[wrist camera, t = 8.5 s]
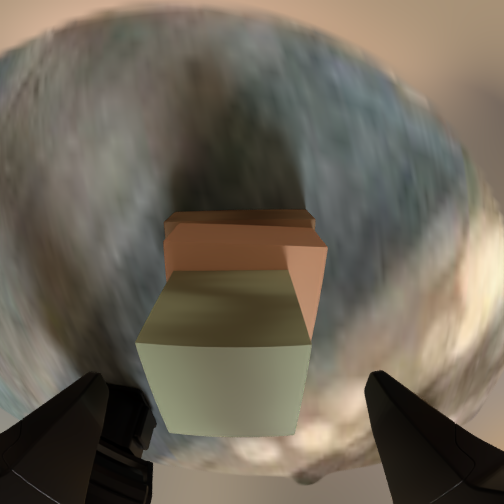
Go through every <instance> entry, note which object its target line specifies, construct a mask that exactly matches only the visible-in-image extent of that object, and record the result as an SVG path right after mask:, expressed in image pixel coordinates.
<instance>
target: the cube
mask: <svg viewBox="0 0 504 504" xmlns="http://www.w3.org/2000/svg"><path fill="white" fill-rule="evenodd" d="M135 344H136V347H137V351H138V354H139V357H140V360H141V363H142V366H143V369H144V371H145V374H146V377H147V380H148V383H149V385H150V388H151V391H152V393H153V396H154V398H155V401H156V403H157V406H158V408H159V410H160V413H161V415H162V417H163V420H164V422H165V424H166V427H167V429H168V431H169V433H176V434H186V435H197V436H213V437H273V436H289V435H294V434H295V430H296V426H297V421H298V417H299V412H300V407H301V402H302V397H303V392H304V387H305V382H306V376H307V371H308V365H309V359H310V353H311V347H312V344H311V340H310V337H309V334H308V330H307V327H306V324H305V321H304V318H303V314H302V311H301V308H300V305H299V302H298V299H297V295H296V292H295V289H294V286H293V283H292V280H291V277H290V274H289V271H288V270H230V271H173V272H172V274H171V276H170V278H169V280H168V281H167V283H166V285H165V287H164V289H163V290H162V292H161V294H160V296H159V298H158V300H157V301H156V303H155V305H154V307H153V309H152V311H151V313H150V314H149V316H148V318H147V320H146V322H145V324H144V326H143V328H142V330H141V332H140V334H139V336H138V338H137V340H136V342H135Z"/></svg>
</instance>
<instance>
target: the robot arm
mask: <svg viewBox="0 0 504 504" xmlns="http://www.w3.org/2000/svg"><path fill="white" fill-rule="evenodd" d="M364 394H365V399H366V403H367V408H368V413H369V418H370V423H371V428H372V432H373V436H374V439H375V442H376V445H377V448H378V452H379V455H380V458H381V461H382V464H383V468H384V472H385V475H386V479H387V482H388V486H389V489H390V493H391V497H392V501H393V504H504V451H502V450H500V449H498V448H496V447H494V446H492V445H490V444H488V443H487V442H485V441H483V440H481V439H479V438H477V437H476V436H474V435H473V434H471V433H469V432H468V431H466V430H465V429H463V428H462V427H461V426H459V425H458V424H455V422H453V421H452V420H451V419H449V418H448V417H446V416H445V415H444V414H442V413H441V412H439V411H438V410H437V409H435V408H434V407H432V406H431V405H430V404H428V403H427V402H425V401H424V400H423V399H421V398H420V397H419V396H417V395H416V394H414V393H413V392H412V391H410V390H409V389H408V388H406V387H405V386H403V385H402V384H401V383H399V382H398V381H397V380H395V379H394V378H393V377H391V376H390V375H389V374H387V373H386V372H384V371H382V370H379V371H374V372H371V373H370V375H369V378H368V380H367V383H366V386H365V389H364ZM156 425H157V423H156V420H155V418H154V416H153V414H152V411H151V409H150V407H149V406H148V404H147V402H146V400H145V398H144V395H143V393H142V392H141V391H140V390H139V389H134V388H127V387H121V386H115V385H109V384H106V383H105V381H104V379H103V377H102V375H101V374H100V373H97V372H88V373H87V374H85V375H84V376H82V377H81V378H80V379H78V380H77V381H75V382H74V383H73V384H71V385H70V386H68V387H67V388H66V389H64V390H63V391H61V392H60V393H59V394H57V395H56V396H54V397H53V398H51V399H50V400H49V401H47V402H46V403H44V404H43V405H42V406H40V407H39V408H37V409H36V410H35V411H33V412H32V413H30V414H29V415H27V416H26V417H25V418H23V419H22V420H20V421H19V422H18V423H16V424H15V425H13V426H12V427H10V428H9V429H7V430H6V431H4V432H2V433H0V504H150V503H151V499H152V478H153V476H152V475H153V463H152V462H150V461H145V460H143V459H141V457H142V453H143V450H147V449H148V448H149V444H150V440H151V437H152V433H153V429H154V428H155V427H156Z"/></svg>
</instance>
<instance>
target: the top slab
mask: <svg viewBox="0 0 504 504" xmlns="http://www.w3.org/2000/svg"><path fill="white" fill-rule="evenodd" d="M163 242H164V257H165V269H166V280H167V281H168V280H169V278H170V276H171V274H172V272H173V271H230V270H288V271H289V274H290V277H291V280H292V283H293V286H294V289H295V292H296V295H297V299H298V302H299V305H300V308H301V311H302V314H303V318H304V321H305V324H306V327H307V330H308V334H309V337H310V340H311V339H312V334H313V329H314V324H315V319H316V314H317V309H318V304H319V298H320V292H321V287H322V281H323V275H324V269H325V262H326V256H327V249H328V247H327V246H326V245H325V243H324V242H323V241H322V240H321V238H320V237H319V236H318V235H317V233H316V232H315V231H314V230H313V228H302V227H282V226H259V225H232V224H197V223H179V224H178V225H177V226H176V227H175V229H174V230H173V231H172V232H171V233H170V234H169V235H168V237H167V238H166V239H165V240H164V241H163Z"/></svg>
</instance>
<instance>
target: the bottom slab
mask: <svg viewBox="0 0 504 504" xmlns="http://www.w3.org/2000/svg"><path fill="white" fill-rule="evenodd" d="M179 223H197V224H232V225H259V226H282V227H302V228H313V230H314V231H315V218H314V217H313V216H312V215H311V214H310V213H309V212H308V211H307V210H306V209H263V210H214V211H187V212H175V213H173V214H172V215H171V216H170V217H169V218H168V219H167V220H166V221H165V222H164V229H165V238H167V237H168V235H169V234H170V233H171V232H172V231H173V230H174V229H175V227H176V226H177V225H178V224H179Z"/></svg>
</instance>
